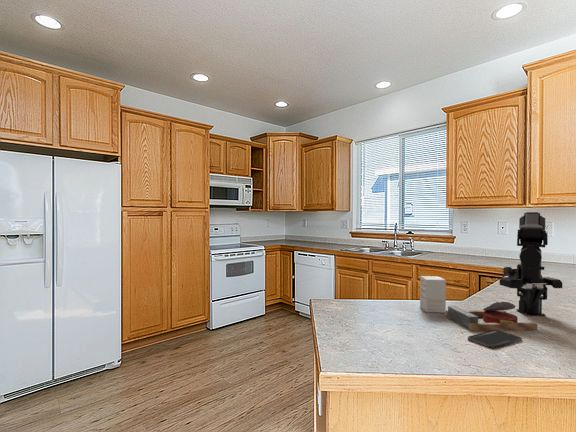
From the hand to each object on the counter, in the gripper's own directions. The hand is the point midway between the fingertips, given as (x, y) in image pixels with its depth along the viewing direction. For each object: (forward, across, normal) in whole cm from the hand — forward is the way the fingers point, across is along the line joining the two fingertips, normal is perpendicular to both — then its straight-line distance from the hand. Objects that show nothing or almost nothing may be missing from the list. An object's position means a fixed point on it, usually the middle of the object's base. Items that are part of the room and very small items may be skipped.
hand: (530, 307), depth 110 cm
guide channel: (+5, +15, 0) cm, 16 cm away
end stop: (+5, +25, 0) cm, 25 cm away
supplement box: (+5, +27, -15) cm, 31 cm away
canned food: (+6, +11, 0) cm, 12 cm away
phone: (+6, +24, +15) cm, 29 cm away
